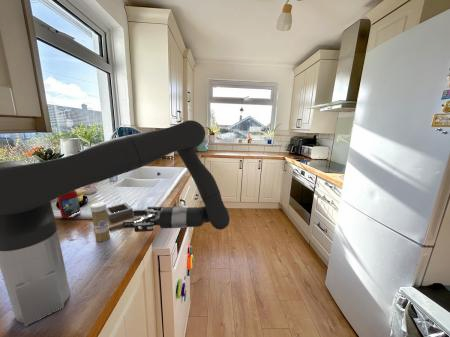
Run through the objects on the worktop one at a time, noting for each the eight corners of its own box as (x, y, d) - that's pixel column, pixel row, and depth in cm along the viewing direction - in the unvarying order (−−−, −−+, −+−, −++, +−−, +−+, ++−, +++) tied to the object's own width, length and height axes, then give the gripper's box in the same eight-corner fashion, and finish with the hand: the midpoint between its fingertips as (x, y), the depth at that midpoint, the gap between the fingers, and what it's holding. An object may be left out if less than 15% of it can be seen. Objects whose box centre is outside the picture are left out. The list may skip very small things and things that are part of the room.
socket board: (140, 220, 81) (140, 211, 80) (109, 231, 73) (108, 220, 72) (126, 207, 94) (126, 199, 93) (98, 215, 86) (97, 206, 85)
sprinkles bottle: (99, 244, 65) (94, 208, 62) (93, 239, 68) (87, 205, 65) (113, 237, 69) (108, 203, 66) (106, 233, 71) (101, 200, 68)
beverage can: (69, 220, 81) (64, 194, 78) (57, 217, 83) (52, 192, 80) (84, 213, 87) (80, 188, 85) (73, 211, 89) (69, 187, 86)
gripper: (177, 200, 75) (135, 200, 73) (170, 217, 61) (118, 218, 60) (178, 217, 76) (137, 218, 75) (171, 237, 62) (120, 239, 61)
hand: (128, 218), depth 67 cm, fingers open, 8 cm apart
